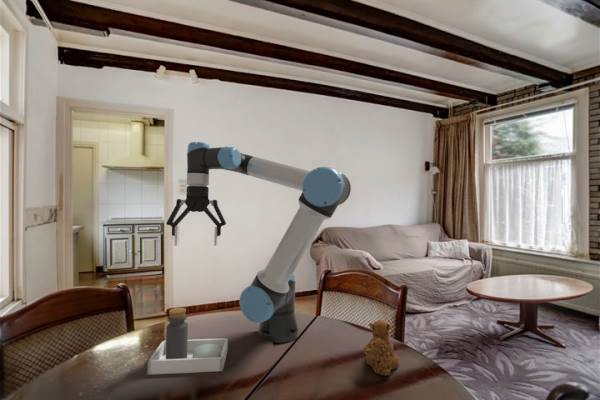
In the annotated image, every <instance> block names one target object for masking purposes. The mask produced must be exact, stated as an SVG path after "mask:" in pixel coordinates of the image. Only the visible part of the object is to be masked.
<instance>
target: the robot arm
mask: <svg viewBox="0 0 600 400" xmlns="http://www.w3.org/2000/svg"><path fill="white" fill-rule="evenodd" d="M186 153H187V154H186V157H187V158H186V160H187V161H186V162H187V163H186V164H187V168H186V185H188V186H186V192H185V193H186V198H185V199H181V198H177V199H176V205H175V206H174V208H173V210H172V212H171V214H170V215H169V217H168V219H167V221H166V225H167V226H170V227H171V235H172V236H173V237H174V246H176V247H177V246H179V243H180V226H178V225H179V224H180V223H181V222H182V221H183V219H184V218H185V217H186V216H187V215H188V214H189V213H190V212H192V213H195V212H197V213H201V212H204V213H205V214H206V216H208V218H209V219H210V220H211V221H212V222H213V224H214V225H215V227H214V237H213V239H214V241H213V243H214V247H215V246H218V239H219V237H220V236H221V233H222V227H223V226H226V225H227V222H226V220H225V218H224V216H223V214H222V212H221V210H220V207H219V205H218V203H219V202H218V200H217V199H213V200H212V199H211V200H210V199H209V190H210V188H209V187H208V186H209V185H210V184H209V183H210V182H209V181H210V180H209V179H210V170H225V171H230V172H234V173H239V174H242V175H247V176H250V177H253V178H256V179H260V180H264V181H266V182H270V183H274V184H276V185H277V184H278V185H280V186H281V185H282V186H284V187H288V188H290V189H295V190H298V191H300V192H301V191H302V192H301V194H300V196H299V197H298V205H299V207H298V208H297V211H296V212H295V215H294V216H293V219H292V220H291V222H290V223H289V226H288V227H287V229H286V230H285V232H284V234H283V236H282V238H281V240H280V242H279V243H278V246H277V247H276V249H275V250H274V253H273V254H272V255H271V258H270V260H269V261H268V263H267V265H266V266H265V269H262V270H258V272H257V273H256V275H255V277H254V278H253V280H252V282H251V284H250V285H249V286H247V287H245V288H244V289H243V290H242V292H241V293H240V296H239V300H238V303H239V306H240V310H241V311H240V312H241V313H242V315H243V316H244V317H245V318H246V319H247V320H249V321H250V322H253V323H255V324H257V323H258V328H257V334H258V336H259V337H260V338H262V339H264V340H267V341H271V342H272V343H273V344H275V343H276V344H281V343H282V344H284V343H288V342H292V341H294V340H296V339H298V337H299V336H300V327H299V323H298V320H297V317H296V313H295V310H296V309H295V308H296V275H295V274H294V272H295V271H296V270H297V268H298V265H299V264H300V262H301V260H302V259H303V257H304V255H305V254H306V251H308V249H309V247H310V245H311V243H312V242H313V240H314V238H315V236H316V235H317V233H318V231H319V229H320V228H321V226H322V224H323V223H324V221H325V220H329V219H331V218H332V217H333V215H334V213H335V212H336V210H337V208H338V206H340V205H342V204H344V203H345V202H346V201H348V199H349V197H350V195H351V191H352V188H351V187H352V186H351V182H350V180H349V179H348V177H347V176H346V175H345V174H343V173H342V172H341V171H338V170H337V169H335V168H334V167H333V168H332V167H329V166H320V167H316V168H314V169H312V170H308V169H307V170H306V169H303V168H299V167H295V166H291V165H288V164H284V163H280V162H275V161H273V160H268V159H264V158H260V157H257V156H254V155H249V154H246V153H242V152H240V150H239V149H238V148H237V147H235V146H223V147H222V146H221V147H220V146H219V147H210V145H209V143H207V142H201V141H192V142H189V143H188V145H187V152H186ZM184 204H185V205H186V208H185V209H184V210H183V211H182V212H181V214H180V215H179V216H178V217H177V218H176V216H177V214H178V213H179V211H180V210H181V207H182V206H183V205H184ZM209 205H210V206H213V209H214V211H215V213H216V215H217V217H218V219H219V220H218V219H217V217H216V216H215V215H214V214H213V213H212V211H210V208H208V206H209ZM175 218H176V219H175Z"/></svg>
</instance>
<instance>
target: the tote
mask: <svg viewBox="0 0 600 400" xmlns="http://www.w3.org/2000/svg"><path fill="white" fill-rule="evenodd" d="M204 344H216V345H219V346H220V348H221V355H220V357H208V358H193V349H195V348H196V347H198V346H200V345H204ZM228 348H229V337H227V338H226V337H225V338H223V337H222V338H221V337H220V338H203V339H202V338H198V339H187V358H184V359H166V339H165V340H162V341H161V342H160V344H159V345H158V347H157V348H156V350H155V351H154V352H153V354H151V356H150V358H149V359H148V360H147V373H146V374H147V376H148V375H149V376H150V375H151V376H152V375H167V374H168V375H169V374H190V373H191V374H193V373H208V372H209V373H210V372H211V373H212V372H224V368H225V363H226V358H227V355H228V352H229V351H228V350H229V349H228Z"/></svg>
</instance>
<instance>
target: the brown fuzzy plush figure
mask: <svg viewBox="0 0 600 400" xmlns="http://www.w3.org/2000/svg"><path fill="white" fill-rule="evenodd" d="M368 326H369V328H370V329H369V330H371V331H372V332H371V333H372V338H370V340H369V341H370V342H367V343H366V344H365V346H364V347H363V350H364V351H363V355H364V354H365V363H366V364H367V365H368V366H369V365H370V367H371V369H372V371H374V373H376V374H377V375H381V376H383V375H384V376H386V377H388V376H390V375H391V371H392V370H395V369H397V368H398V367H399V364H400V358H399V356H398V355H397V353H396V352H395V351H394V344H393V341H392V339H391V338H390V333H389V332H390V329H391V328H392V324H391V323H387V321H385V320H383V319H382V320H381V319H378V320H375V321H374V322H373V323H372V322H369V323H368ZM387 375H388V376H387Z"/></svg>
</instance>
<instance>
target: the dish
mask: <svg viewBox="0 0 600 400" xmlns="http://www.w3.org/2000/svg"><path fill="white" fill-rule="evenodd" d="M220 355H221V348H220V346H219V345H216V344H204V345H200V346H198V347H196V348H195V349H193V358H208V357H220Z"/></svg>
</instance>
